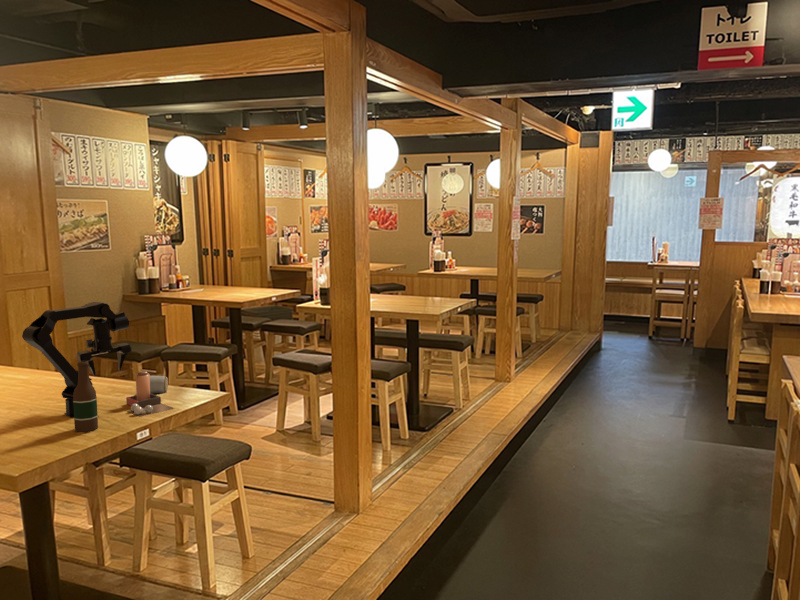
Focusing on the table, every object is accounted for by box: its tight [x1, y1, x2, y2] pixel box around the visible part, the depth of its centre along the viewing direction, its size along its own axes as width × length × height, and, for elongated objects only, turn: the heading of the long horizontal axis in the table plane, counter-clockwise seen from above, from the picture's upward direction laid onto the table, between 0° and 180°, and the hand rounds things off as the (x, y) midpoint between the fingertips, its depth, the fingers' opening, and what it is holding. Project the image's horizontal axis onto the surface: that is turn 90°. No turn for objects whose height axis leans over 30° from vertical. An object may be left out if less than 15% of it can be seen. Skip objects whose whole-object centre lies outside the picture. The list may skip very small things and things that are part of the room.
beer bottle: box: [73, 361, 99, 433], centre depth 216 cm, size 8×8×24 cm
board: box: [126, 402, 176, 418], centre depth 238 cm, size 14×10×1 cm
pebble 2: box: [134, 406, 143, 416], centre depth 232 cm, size 3×3×3 cm
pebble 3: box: [144, 405, 153, 413], centre depth 234 cm, size 3×3×3 cm
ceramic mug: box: [150, 375, 169, 395], centre depth 265 cm, size 11×8×8 cm
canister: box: [135, 370, 151, 401], centre depth 244 cm, size 5×5×13 cm
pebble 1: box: [130, 404, 139, 411], centre depth 235 cm, size 3×3×3 cm
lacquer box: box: [125, 393, 162, 408], centre depth 245 cm, size 9×9×4 cm
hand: (107, 373), depth 244 cm, fingers open, 9 cm apart
